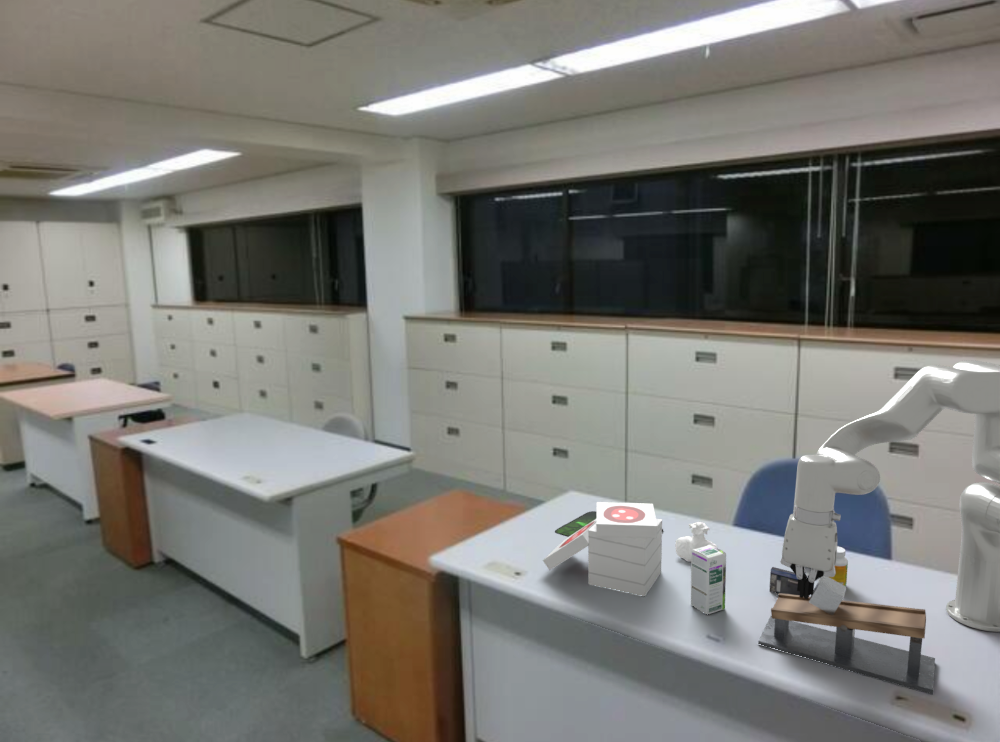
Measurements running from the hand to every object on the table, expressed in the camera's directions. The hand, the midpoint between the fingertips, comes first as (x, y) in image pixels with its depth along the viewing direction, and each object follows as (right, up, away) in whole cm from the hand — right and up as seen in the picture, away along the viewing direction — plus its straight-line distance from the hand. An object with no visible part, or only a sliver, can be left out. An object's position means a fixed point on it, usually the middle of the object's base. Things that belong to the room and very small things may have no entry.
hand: (804, 595), depth 145 cm
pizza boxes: (-37, -6, +35) cm, 52 cm away
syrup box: (-15, -9, +18) cm, 25 cm away
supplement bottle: (+19, -6, +27) cm, 34 cm away
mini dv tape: (+6, -7, +23) cm, 24 cm away
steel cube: (+3, -1, -1) cm, 4 cm away
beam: (+7, -4, -3) cm, 9 cm away
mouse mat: (-32, -2, +63) cm, 70 cm away
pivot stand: (+7, -12, -2) cm, 14 cm away
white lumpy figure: (-11, -4, +43) cm, 44 cm away
